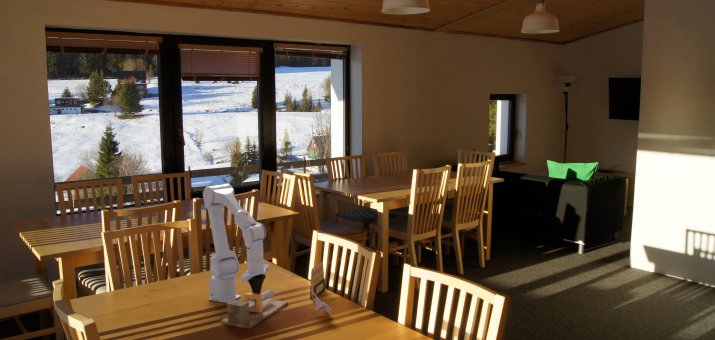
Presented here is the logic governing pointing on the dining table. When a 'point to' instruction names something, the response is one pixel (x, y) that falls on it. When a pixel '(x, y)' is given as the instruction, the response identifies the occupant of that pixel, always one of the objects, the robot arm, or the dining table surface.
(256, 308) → the collar
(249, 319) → the pipe board
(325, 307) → the lily
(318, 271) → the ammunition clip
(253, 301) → the pipe
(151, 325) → the dining table surface
